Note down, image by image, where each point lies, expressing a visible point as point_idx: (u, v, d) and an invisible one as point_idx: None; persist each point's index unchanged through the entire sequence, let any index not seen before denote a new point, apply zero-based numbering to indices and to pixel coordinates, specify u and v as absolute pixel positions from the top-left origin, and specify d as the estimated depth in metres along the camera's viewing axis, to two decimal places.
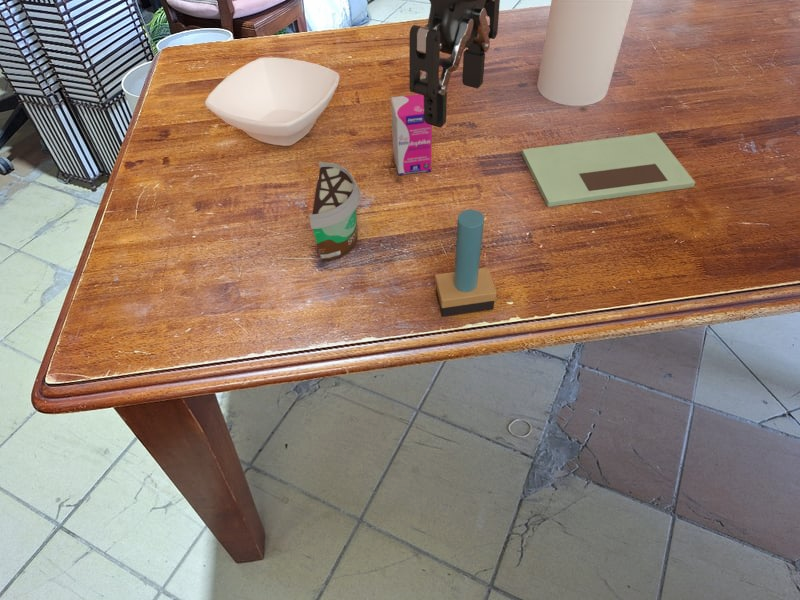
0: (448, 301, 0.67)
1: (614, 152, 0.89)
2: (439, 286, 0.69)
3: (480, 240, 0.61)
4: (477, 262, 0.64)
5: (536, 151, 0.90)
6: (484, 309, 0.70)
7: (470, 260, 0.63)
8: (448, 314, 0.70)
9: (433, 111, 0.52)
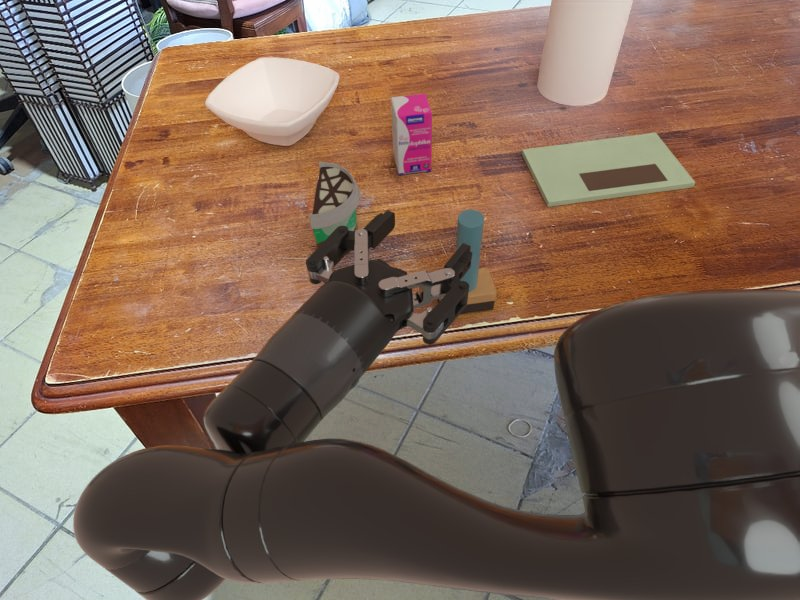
0: None
1: (614, 152, 0.89)
2: None
3: (480, 240, 0.61)
4: (477, 262, 0.64)
5: (536, 151, 0.90)
6: (484, 309, 0.70)
7: None
8: None
9: (466, 265, 0.48)
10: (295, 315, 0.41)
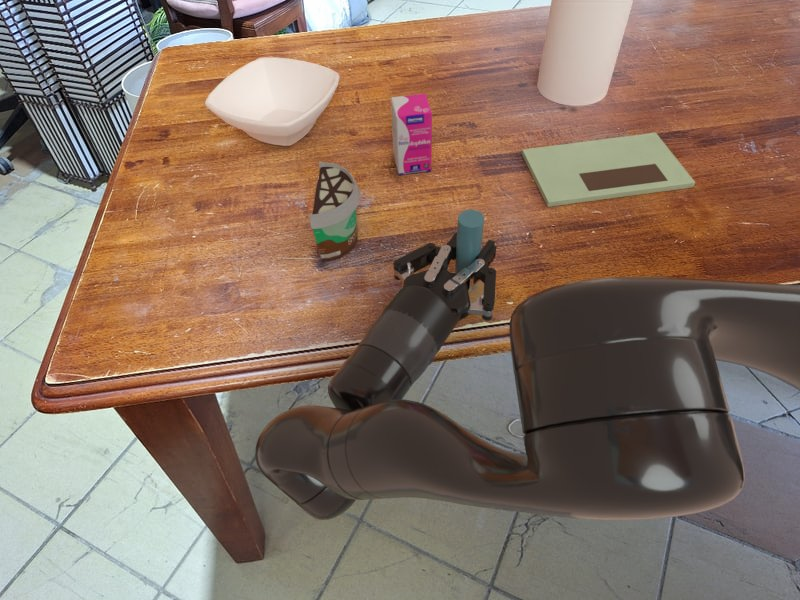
0: None
1: (614, 152, 0.89)
2: None
3: (480, 240, 0.61)
4: None
5: (536, 151, 0.90)
6: None
7: (470, 260, 0.63)
8: None
9: (492, 256, 0.64)
10: (386, 311, 0.56)
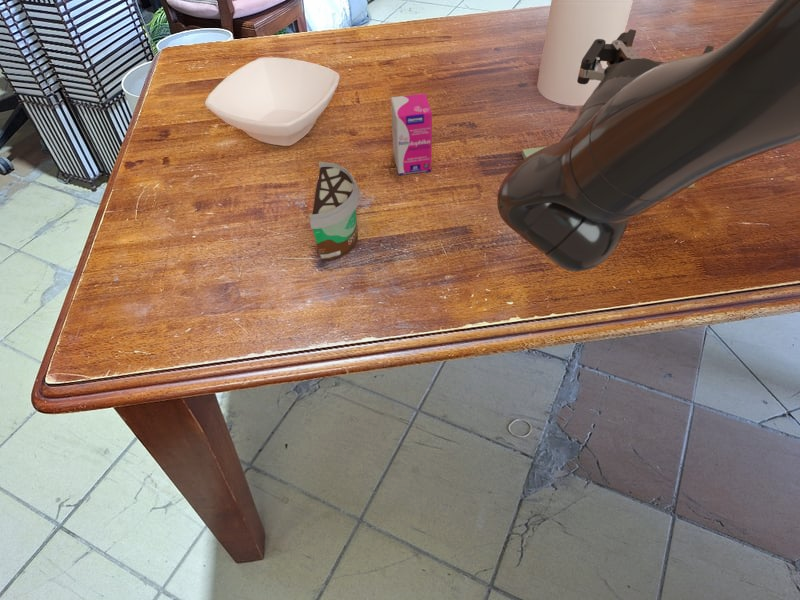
0: None
1: None
2: None
3: None
4: None
5: (536, 151, 0.90)
6: None
7: None
8: None
9: None
10: (607, 81, 0.51)
